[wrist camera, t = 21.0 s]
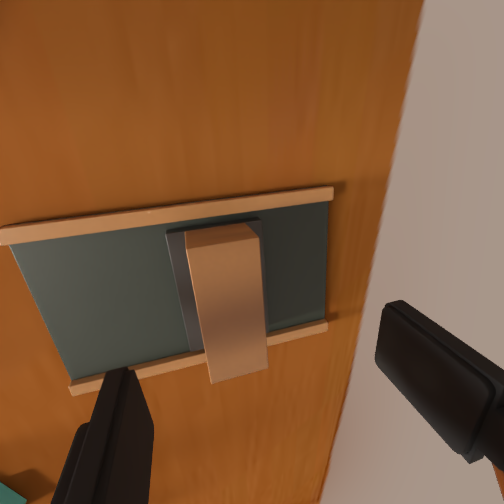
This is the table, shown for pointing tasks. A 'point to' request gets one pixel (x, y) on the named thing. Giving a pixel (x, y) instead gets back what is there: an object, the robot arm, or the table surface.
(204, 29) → the table surface
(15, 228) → the slate board
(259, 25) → the table surface
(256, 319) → the eraser
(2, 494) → the alien figure
